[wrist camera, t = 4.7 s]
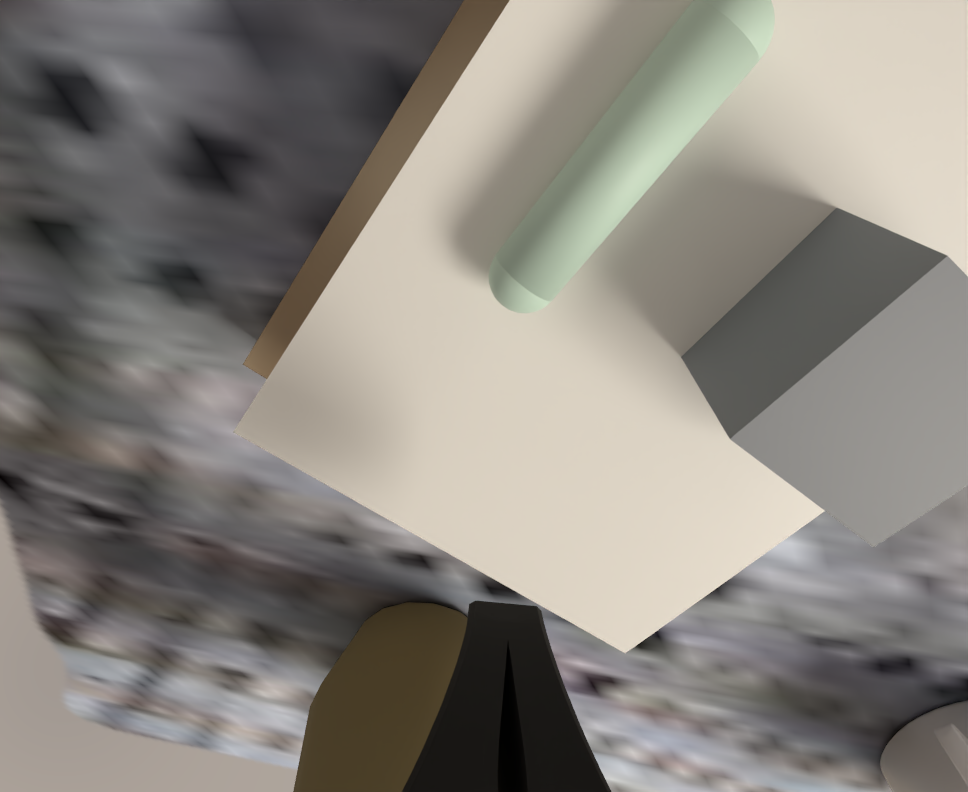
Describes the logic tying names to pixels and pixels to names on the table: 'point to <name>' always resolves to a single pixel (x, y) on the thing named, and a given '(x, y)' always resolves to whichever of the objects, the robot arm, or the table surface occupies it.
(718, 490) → the level plate
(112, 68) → the table surface
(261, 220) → the table surface
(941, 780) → the mug
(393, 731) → the squeeze bottle
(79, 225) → the table surface
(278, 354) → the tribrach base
